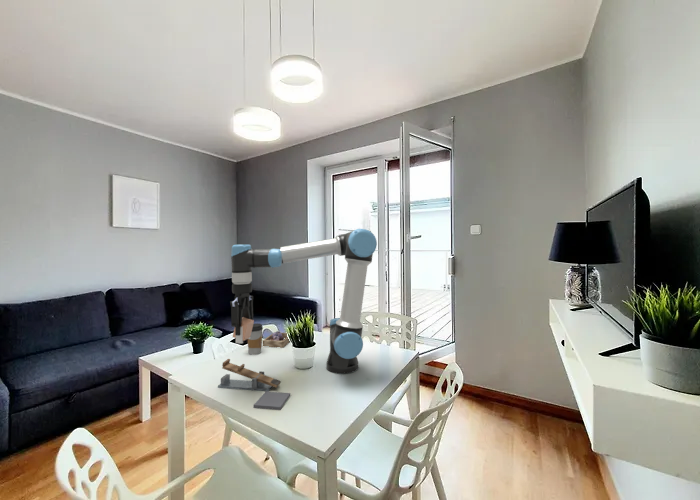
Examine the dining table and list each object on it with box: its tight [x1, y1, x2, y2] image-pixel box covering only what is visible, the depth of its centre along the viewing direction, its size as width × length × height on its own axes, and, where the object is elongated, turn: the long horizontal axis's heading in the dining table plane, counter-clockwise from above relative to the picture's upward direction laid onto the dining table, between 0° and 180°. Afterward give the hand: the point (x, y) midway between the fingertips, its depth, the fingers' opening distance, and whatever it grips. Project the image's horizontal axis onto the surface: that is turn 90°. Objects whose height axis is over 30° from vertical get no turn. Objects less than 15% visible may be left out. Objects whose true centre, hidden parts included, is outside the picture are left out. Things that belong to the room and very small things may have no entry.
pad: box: [253, 391, 292, 411], centre depth 108 cm, size 10×10×1 cm
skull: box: [270, 330, 284, 341], centre depth 174 cm, size 12×8×6 cm, turn 175°
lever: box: [221, 358, 282, 389], centre depth 120 cm, size 24×5×3 cm, turn 81°
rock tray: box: [262, 331, 290, 349], centre depth 175 cm, size 12×16×4 cm
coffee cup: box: [246, 322, 264, 356], centre depth 158 cm, size 8×8×15 cm
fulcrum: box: [217, 371, 274, 392], centre depth 120 cm, size 22×7×5 cm, turn 81°
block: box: [232, 316, 255, 342], centre depth 118 cm, size 5×5×7 cm
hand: (243, 340), depth 118 cm, fingers closed on block, 5 cm apart
